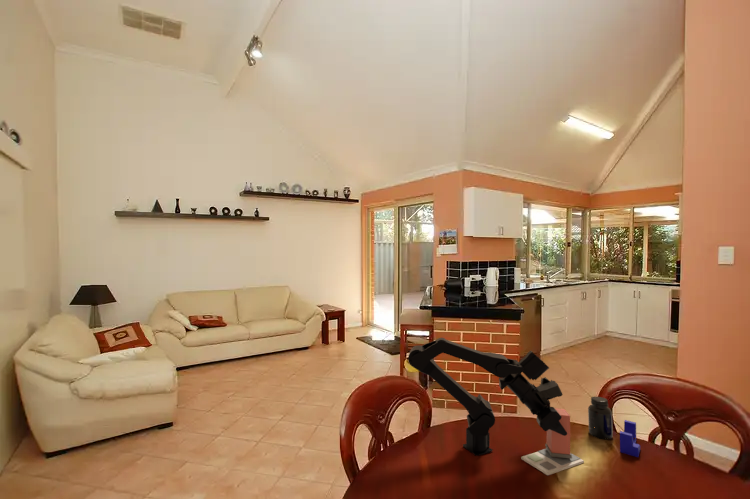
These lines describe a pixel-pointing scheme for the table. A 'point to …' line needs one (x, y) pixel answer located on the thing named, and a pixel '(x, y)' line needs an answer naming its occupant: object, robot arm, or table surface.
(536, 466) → the panel board
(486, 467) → the table surface
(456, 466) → the table surface
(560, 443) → the salmon block on plinth
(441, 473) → the table surface
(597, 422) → the supplement bottle
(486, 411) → the robot arm
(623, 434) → the blue cradle bracket
